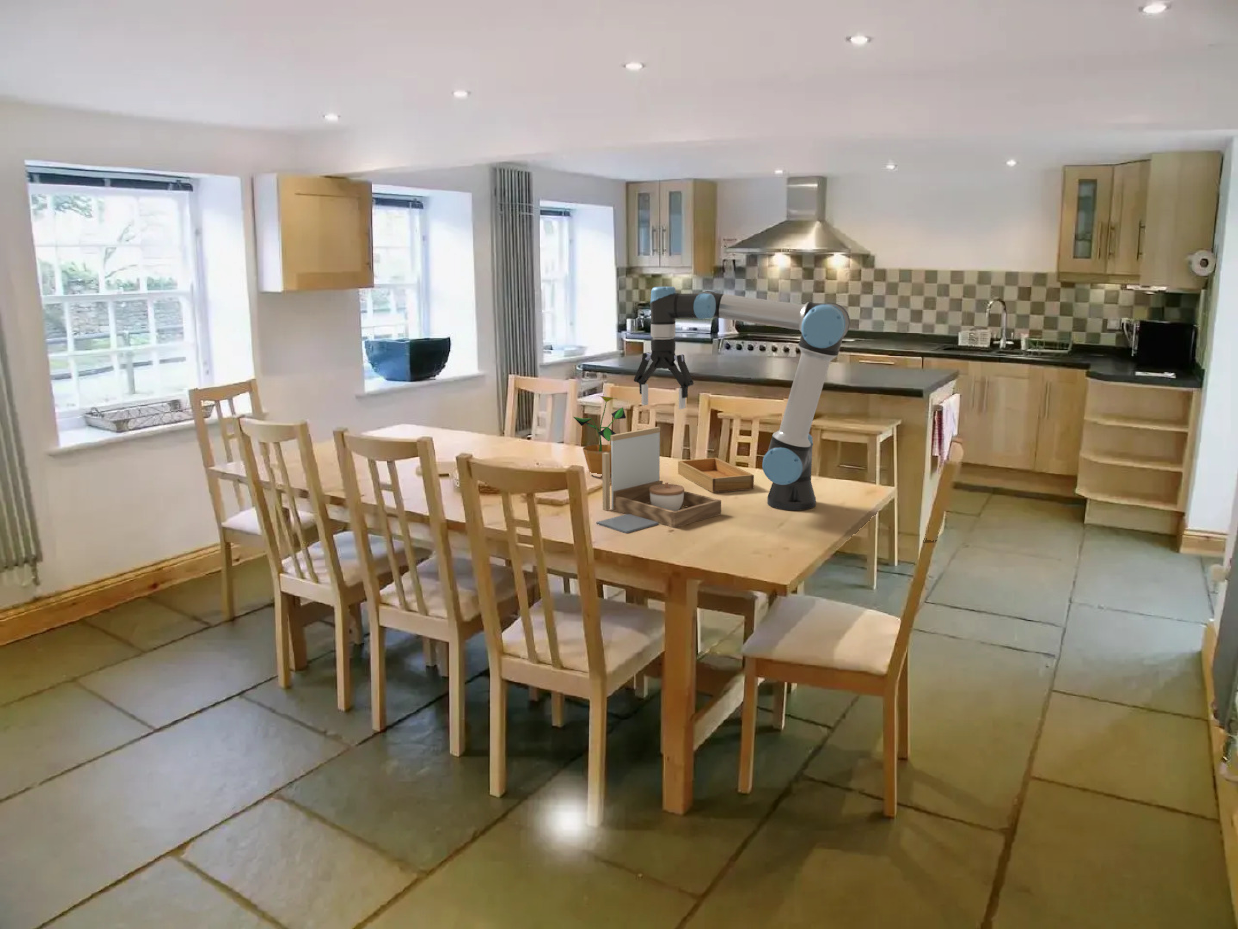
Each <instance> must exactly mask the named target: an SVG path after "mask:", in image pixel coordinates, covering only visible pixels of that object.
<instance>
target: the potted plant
mask: <svg viewBox="0 0 1238 929" xmlns="http://www.w3.org/2000/svg"><path fill="white" fill-rule="evenodd" d="M596 397H598V395H596ZM599 397H601V398H602V399H603V401H604V402H605V405H604V409H603V413H602V416H601V420H600V424H599V428H598V426H597V425H596V423H595V422H594V420H593V418H591V417H590V418H589V417H588V418H582V417H577V416H573V418H574V419H575V420H576V422H577V423H578V424H579V425H580V426H582V427H583V426H584V425H585V424H586V425H587V427H590V428H592V429H595V430H596V431H597V434H598V437H599V442H598V443H599V444H589V445H586V446H584V447H582V451H583V454H584V458H585V461H586V464H587V469H588V473H590V472H591V473H597V474H602V453H609V456H610V474H611V444H603V443H602V437H603V439H605V441H607V442H610V441H611V438H610V435H615V434H617V433H616V432H615V431H614V430H612V429H611V427H610V426H611V425H612V424H613V422H614V421H615V420H621V419H624V420H625V419H627V416H626V413H625V411H624V407H623V406H622V407H621V408H619V409H617V410H615V411H613V412H612V413H611V416H612V417H613V418H614V419H613V420H612V421H611V422H610V423H609V424H608V425H607V426H602V423H603V419H604V415H605V413H606V408H607V402H610V401H611V400H617V397H616V398H615V397H609V396H603V395H599ZM589 421H592V423H593V424H592V423H589Z"/></svg>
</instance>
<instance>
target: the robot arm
mask: <svg viewBox="0 0 1238 929" xmlns="http://www.w3.org/2000/svg"><path fill="white" fill-rule="evenodd" d="M650 292H651V293H650V303H649V304H650V337H651V339H650V350H651V353H650V352H642V355H641V356H642V359H641V362H640V364H639V366H638V368H637V371H636V374H635V376H634V378H633V382H635V383H638V385H639V395H641V406H647V405H649V383H647V382H648V380H649V379H650V378H651V376H652V375H653V373H654V372H655V371H656V370H657V369H663V370H667V369H668V371H670V372H671V374H672V376H673V377H674V378H675V380H676V381H677V382H678V384H679V385H680V387H678V409H679V410H683V409H686V399H687V398H688V396H689V395H688V394H689V393H688V391H689V390H688V388H689V387H690V386H693V385H694V384H695V383H694V380H693V378H692V376H691V372H690V370H689V368H688V365H687V364H686V360H685V359H686V358H685V355H684V354H677V355H676V339H675V337H676V319H690V320H707V319H709V320H710V319H712V318H716V319H722V320H723V319H724V320H732V321H739V322H744V323H751V324H756V325H757V324H759V325H763V326H771V327H778V328H785V329H791V330H795V331H796V330H797V331H798V330H799V332H801V334H800V337H799V340H798V341H799V342H798V345H797V347H798V349H799V351H800V357H799V361H798V364H797V368H796V370H795V375H794V377H793V382H792V384H791V389H790V391H789V395H788V399H787V402H786V405H785V409H784V413H783V416H782V420H781V423H780V426H779V430H777V431H775V432H773V434H772V436H771V440H770V443H769V446H768V450H767V452H766V453H765V454H764V456H763V458H762V464H761V465H762V471H763V473H764V475H765V477H766V478H767V479H768V480H769V481H770V482H772V483H771V486H770V489H769V491H768V494H767V502H766V504H767V506H769V507H771V508H775V509H779V510H785V511H805V510H810V509H813V508H815V507H816V503H817V498H816V495H815V492H814V488H813V487H814V486H813V483H812V467H813V466H812V465H813V464H812V463H813V462H812V461H813V445H814V443H813V436H812V434H810V432H811V429H812V428H811V427H812V424H813V421H814V416H815V413H816V410H817V408H818V404H819V401H820V398H821V394H822V390H823V388H824V384H825V380H826V376H827V374H828V372H829V371H828V370H829V367H830V363H831V361H833V360H834V359H835V358H837V357H838V356H839V354H840V349H841V346H842V342H843V339H844V337H845V336H846V335H847V333H848V331H849V330H850V326H851V318H850V315H849V313H848V311H847V310H846V308H844V307H843V306H842V305H840V304H839V303H834V302H810V301H808V302H806V303H804V304H801V303H800V304H799V303H792V302H786V301H776V300H772V299H771V300H770V299H763V298H756V297H749V296H741V295H736V294H727V293H719V292H715V291H711V290H705V291H702V292H696V293H694V292H693V293H692V292H691V293H677V291H676V287H675V286H654V287H652V289H651V291H650ZM650 360H651V361H652V362H651V363H650V364H649V362H650ZM675 361H676V363H677V364H676V363H675ZM648 365H649V366H648ZM647 367H648V368H647ZM678 368H679V369H678Z"/></svg>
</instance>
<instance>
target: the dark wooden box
mask: <svg viewBox="0 0 1238 929" xmlns="http://www.w3.org/2000/svg"><path fill="white" fill-rule="evenodd" d="M659 484H663V480H660V481H656V482H651V483H647V484H643V485H639V486H634V487H630V488H626V489H622V490H618V491H613V510H612V511H615V512H618V513H622V514H624V515H625V514H631V515H635V516H638V517H642V518H645V519H649V520H652V521H656V522H659V524H660V525H664V526H667V527H671V528H673V529H676V528H679V527H682V526H687V525H689V524H693V523H696V522H699V521H703V520H706V519H709V518H714V517H717V516H720V515H722V500H721V499H717V498H715V497H714V498H713V497H710V496H705V495H701V494H697V493H693V492H689V491H685V490H684V499H683V504H682V506H683V507H685V508H683V509H681V508H680V509H679V510H678V511H671V510H668V509H664V508H660V507H657V506H653V505H651V504H649V503H651V502H650V492H649V488H650V487H651V486H654V485H659ZM682 506H681V507H682ZM659 524H658V525H659Z"/></svg>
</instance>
